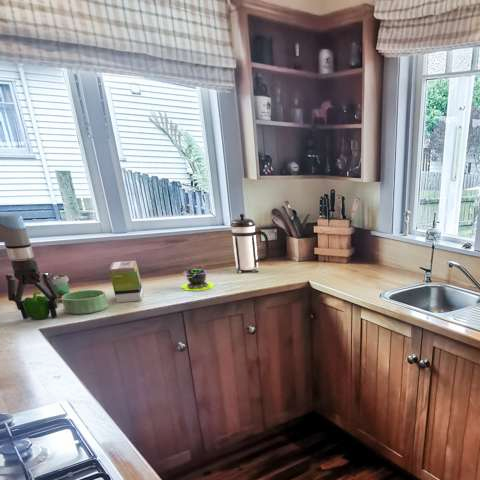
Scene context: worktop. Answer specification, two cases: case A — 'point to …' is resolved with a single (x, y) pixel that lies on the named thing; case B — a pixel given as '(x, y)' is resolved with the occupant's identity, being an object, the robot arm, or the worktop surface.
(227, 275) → the worktop surface
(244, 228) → the coffee press
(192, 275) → the toy cauldron
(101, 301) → the bowl
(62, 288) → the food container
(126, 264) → the tea box
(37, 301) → the bell pepper
